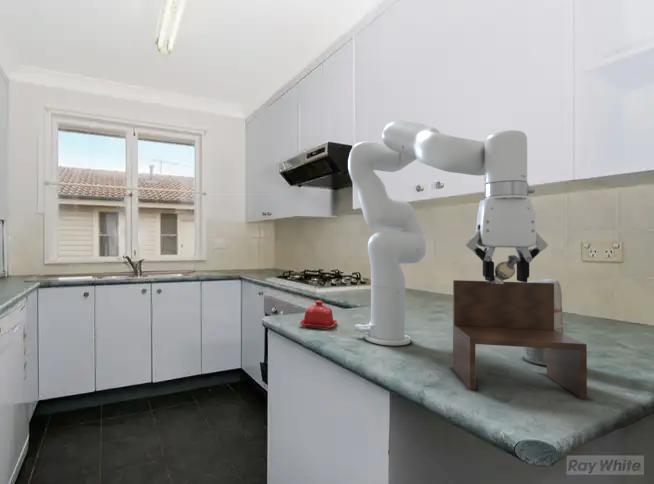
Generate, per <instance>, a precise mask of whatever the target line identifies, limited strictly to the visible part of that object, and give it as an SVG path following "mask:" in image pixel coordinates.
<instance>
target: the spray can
mask: <svg viewBox="0 0 654 484" xmlns="http://www.w3.org/2000/svg"><path fill="white" fill-rule="evenodd" d="M528 282H539V283H554V330H555V331H557V332H559V333H562V334H564V325H563V324H564V320H563V304H562V303H563V295H562V287H561V283H560V281H559V280H557V279H554V278H553V279H552V278H544V279H539V280H538V279H537V280H530V281H529V280H528ZM523 352H524V353H523V354H524V360H526V361H527V362H529V363H532V364H535V365H541V366H547V348H534V347H523Z"/></svg>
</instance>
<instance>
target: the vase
mask: <svg viewBox="0 0 654 484" xmlns="http://www.w3.org/2000/svg"><path fill="white" fill-rule="evenodd" d="M520 261H521V260H520V259H519V256H518V255H517V256H516V255H512V254H510V255H508V256H507V261H500V262H499V263H497V264H496V266H495V267H494V281H490V283H495V284H503V283H504V282H503V281H506V280H509V279H511V278H512V277H514V275H515V274H516V268H515V265H517V263H519V262H520ZM509 284H510V283H509Z"/></svg>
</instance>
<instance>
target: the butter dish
mask: <svg viewBox="0 0 654 484" xmlns="http://www.w3.org/2000/svg"><path fill="white" fill-rule="evenodd" d="M323 303H324V301H323V300H320V299H317V300H315V304H313V305H309V306H308V307H306V309H305V311H304V317H303V319H302V320H301V321H299V325H301V326H305V327H306V328H315V329H325V330H327V329H329V328H333V327H335V325H336V324H337V323H338V320H337V319H334V317H333V316H334V315H333V310H332V308H331V307H329V306H326V305H323Z"/></svg>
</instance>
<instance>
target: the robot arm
mask: <svg viewBox="0 0 654 484" xmlns="http://www.w3.org/2000/svg"><path fill="white" fill-rule="evenodd" d="M381 138H382V142H378V141H371V140H369V141H368V140H367V141H360V142H358V143H356V144H354V145H353V146H352V147H351V149H350V152H349V156H348V158H347V169H348V174H349V178H350V180H351V183H352V184H353V186H354V188H355V191H356V193H357V197H358V201H359V204H360V208H361V211H362V216H363V218H364V221H365V223H366V226H367V227H368V228H369V229H372V230H375V231H377V230H378V231H377V232H375V233H374V234H372V235H371V236H370V237H369V239H368V242H367V255H368V259H369V266H370V267H369V268H370V321H369V322H368V323H365V324H359V323H358V324H356V323H355V324H354V331H355V332H359V333H365V334H364V338H365V340H366V341H367V342H369V343H373V344H376V345H381V346H382V345H383V346H393V347H395V346H396V347H397V346H406V345H409V344H410V343H411V341H412V340H411V337H410V336H409V335H407V334H406V277H405V274H404V272H403V269H402V267H401V266H400V265H401V264H405V265H406V264H416V263H418V262H421V261H422V260H423V259H424V258H425V255H426V252H427V245H426V239H425V236H424V233H423V231H422V228H421V224H420V221H419V219H418V216H417V213H416V211H415V209H414V207H413V206H412V204H410V203H409V202H408V201H405V200H400V199H392V198H391V197H389V195H388V192H387V189H386V186H385V183H384V182H383V181H382V179H381V178H380V177H379V176H378V174H376V172H375V171H378V172H387V173H394V172H398V171H400V170H402V169H404V168H405V167H407V166H408V165H409V164H411V163H413V162H414V161H416V160H417V161H419V162H420V163H422V164H423V165H426V166H429V167H432V168H434V169H437V170H441V171H444V172H448V173H454V174H462V175H468V176H469V175H470V176H476V177H477V176H484V199H481V200H480V201H479V204H478V210H477V216H476V225H475V233H474V234H472V236H470V238H469V239H468V240H467V241H466V242H465V247H467V248H468V249H469V250H470V251H471V252H473V253H474V255H476V256H477V257H478V258H479V259H480V261H481V262H482V277H484V279H485V280H484V281H494V276H495V261H493V259H492V258H493V257H494V256H493V255H494V253H495V250H496V248H514V249H515V250H516V252H517V257H518V258H519V259H520V260H521V261H520V262H519V263H516V281H517V282H528V279H529V278H530V263H531V262H532V261H533V259H534V258H535V257H537V256H538V255H539V254H540V253H541V252H542V251H544V250H545V249H546V248H548V245H549V244H548V243H547V242H546V241H545V240H544V239H543V237H542V236H541V235H540V234H539V233H538V232H537V224H536V215H535V212H534V211H535V210H534V206H533V202H532V198H530V197H529V195H530V194H534V193H535V192H536V187H534V186H529V182H528V137H527V135H526V133H525V132H524V131H522V130H512V129H511V130H502V131H497V132H494V133H491V134H489V135H488V136H487V137H486V139H485V141H482V140H477V139H470V138H465V137H459V136H454V135H449V134H445V133H441V132H440V131H439V130H438V129H437V128H435V127H432V126H428V125H425V124H422V123H418V122H412V121H407V120H393V121H391V122H389V123H388V124H386V125H385V127H384V128H383V130H382V133H381Z"/></svg>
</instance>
